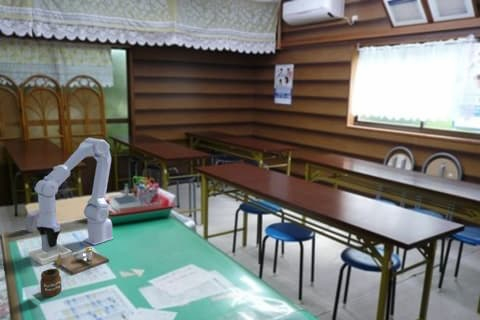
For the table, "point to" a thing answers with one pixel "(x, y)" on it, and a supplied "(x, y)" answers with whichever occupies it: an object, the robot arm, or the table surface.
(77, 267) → the crank base
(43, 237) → the block
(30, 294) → the table surface
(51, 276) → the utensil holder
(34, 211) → the stone block
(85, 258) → the crank
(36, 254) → the tray
